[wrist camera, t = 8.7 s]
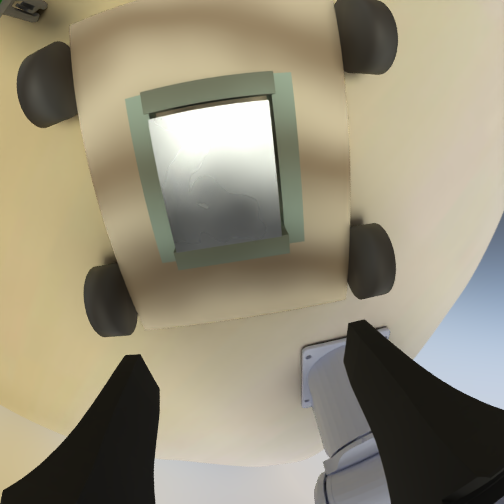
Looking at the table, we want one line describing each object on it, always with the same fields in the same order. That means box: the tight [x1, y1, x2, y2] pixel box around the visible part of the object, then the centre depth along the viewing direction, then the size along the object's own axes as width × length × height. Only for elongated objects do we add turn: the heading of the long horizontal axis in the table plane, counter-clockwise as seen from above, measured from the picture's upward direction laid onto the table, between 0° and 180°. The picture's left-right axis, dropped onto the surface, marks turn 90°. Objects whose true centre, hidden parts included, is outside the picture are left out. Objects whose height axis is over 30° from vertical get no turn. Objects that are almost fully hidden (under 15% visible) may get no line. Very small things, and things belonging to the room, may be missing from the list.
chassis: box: [17, 0, 398, 337], centre depth 13 cm, size 20×17×4 cm
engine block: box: [148, 100, 282, 253], centre depth 12 cm, size 5×4×5 cm
